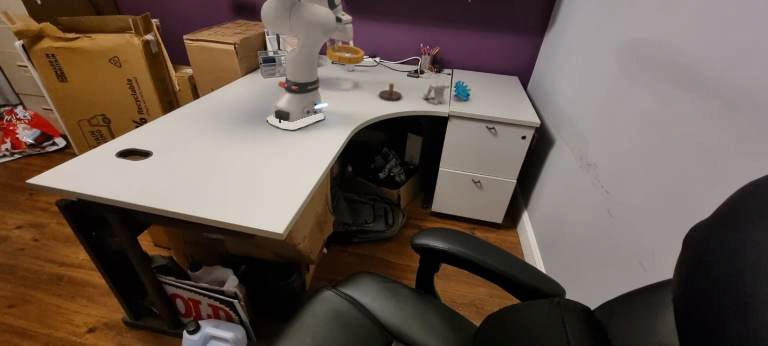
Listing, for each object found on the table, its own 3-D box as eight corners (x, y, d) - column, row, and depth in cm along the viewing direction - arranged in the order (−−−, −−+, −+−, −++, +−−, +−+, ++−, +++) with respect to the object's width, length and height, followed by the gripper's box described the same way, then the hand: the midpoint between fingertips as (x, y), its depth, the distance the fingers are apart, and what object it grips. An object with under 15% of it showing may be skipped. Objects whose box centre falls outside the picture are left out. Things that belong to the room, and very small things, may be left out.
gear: (459, 100, 146) (453, 79, 147) (450, 105, 151) (444, 85, 152) (475, 99, 152) (469, 79, 153) (466, 104, 157) (460, 85, 158)
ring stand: (395, 102, 142) (396, 89, 139) (375, 97, 146) (376, 84, 142) (404, 96, 149) (406, 83, 146) (385, 90, 153) (386, 78, 150)
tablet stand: (439, 96, 152) (442, 79, 147) (447, 103, 146) (451, 85, 141) (422, 98, 149) (425, 80, 144) (430, 104, 143) (433, 86, 138)
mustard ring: (350, 67, 140) (351, 60, 138) (319, 56, 145) (319, 49, 143) (370, 58, 152) (370, 52, 150) (340, 48, 157) (341, 42, 155)
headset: (357, 71, 173) (359, 36, 163) (345, 72, 170) (345, 36, 160) (344, 60, 187) (344, 27, 177) (332, 61, 185) (332, 27, 174)
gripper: (308, 12, 142) (310, 45, 151) (347, 20, 135) (346, 54, 143) (317, 10, 147) (318, 42, 155) (355, 18, 140) (354, 51, 148)
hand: (332, 48), depth 149 cm, fingers closed on mustard ring, 2 cm apart
